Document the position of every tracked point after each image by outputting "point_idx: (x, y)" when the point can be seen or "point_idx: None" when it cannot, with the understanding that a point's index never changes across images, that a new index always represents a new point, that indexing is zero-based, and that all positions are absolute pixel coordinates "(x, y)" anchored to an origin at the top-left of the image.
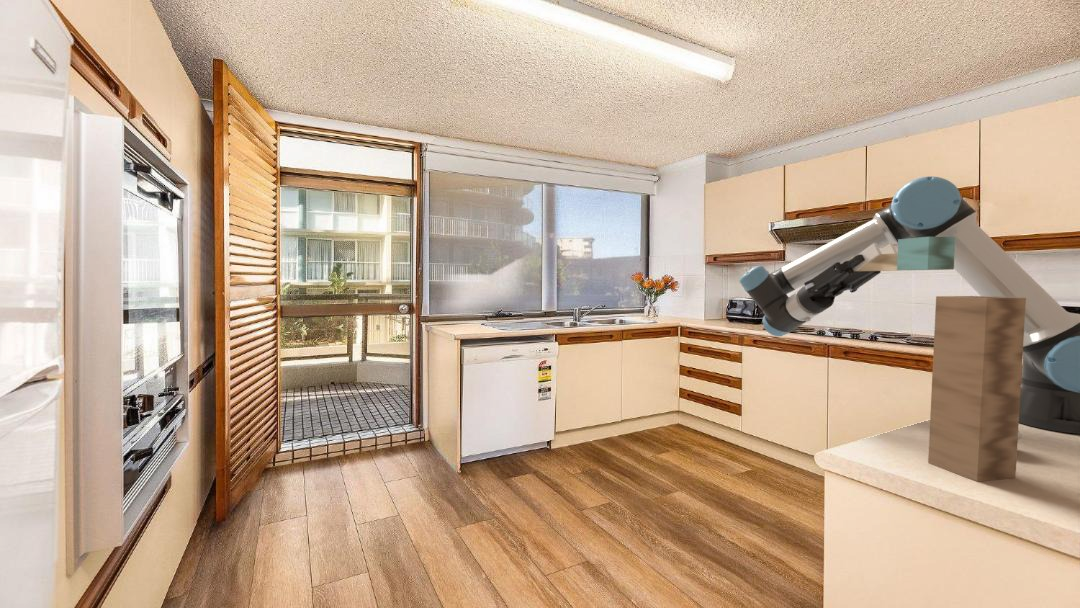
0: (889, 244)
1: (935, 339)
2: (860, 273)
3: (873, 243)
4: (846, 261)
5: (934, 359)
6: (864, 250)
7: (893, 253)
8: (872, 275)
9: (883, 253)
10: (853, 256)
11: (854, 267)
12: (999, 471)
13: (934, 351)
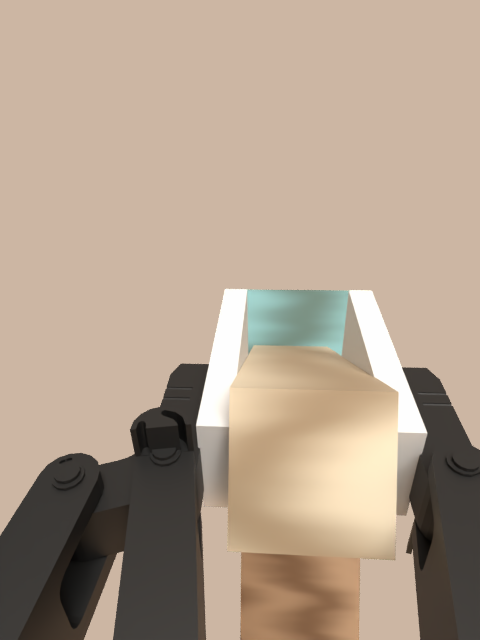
0: (245, 295)
1: (358, 570)
2: (203, 609)
3: (372, 292)
4: (472, 451)
5: (358, 622)
6: (387, 335)
7: (331, 350)
8: (93, 598)
9: (244, 352)
10: (391, 394)
11: (410, 490)
12: None
13: (358, 602)
